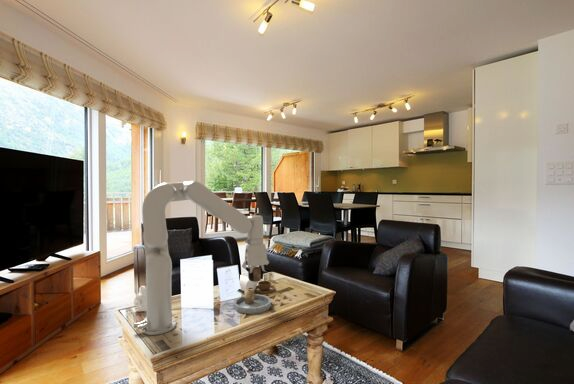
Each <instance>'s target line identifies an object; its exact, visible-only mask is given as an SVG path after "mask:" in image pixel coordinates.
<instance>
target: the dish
mask: <svg viewBox="0 0 574 384" xmlns="http://www.w3.org/2000/svg"><path fill="white" fill-rule="evenodd" d="M271 307H272V298H270V297H269V296H267V295H265V294H260V293H256V294H255V293H254V303H253V304H245V295H241V296H239V297H237V298H235V299H234V300H233V307H232V308H233V309H234V310H235V312H238V313H241V314H247V315H252V314H260V313H263V312H266V311H268V310H269V309H270V308H271Z"/></svg>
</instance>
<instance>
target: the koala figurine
mask: <svg viewBox="0 0 574 384" xmlns="http://www.w3.org/2000/svg"><path fill="white" fill-rule="evenodd" d="M133 305H134V306H135V307H138V308H137V310H136V312H138V313H139V312H146V313H147V307H146V285H141V286H140V287H138V293H137V294H136V295H135V297H134V301H133Z"/></svg>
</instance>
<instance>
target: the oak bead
mask: <svg viewBox="0 0 574 384" xmlns="http://www.w3.org/2000/svg"><path fill="white" fill-rule="evenodd" d="M254 294H255V291H254V290H253V289H246V290H245V291H244V296H245V304H253V303H254Z"/></svg>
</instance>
